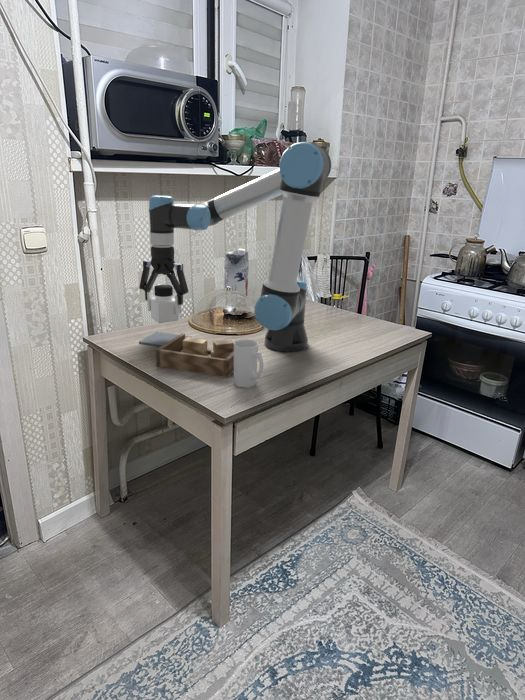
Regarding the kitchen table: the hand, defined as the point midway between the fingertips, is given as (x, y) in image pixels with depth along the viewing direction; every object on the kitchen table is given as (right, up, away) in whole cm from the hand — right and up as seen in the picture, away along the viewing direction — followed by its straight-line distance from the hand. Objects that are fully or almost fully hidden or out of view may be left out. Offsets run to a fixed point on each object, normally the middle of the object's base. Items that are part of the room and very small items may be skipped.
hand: (164, 311), depth 162 cm
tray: (+15, -17, -13) cm, 26 cm away
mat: (0, -10, +4) cm, 10 cm away
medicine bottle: (0, -3, +1) cm, 3 cm away
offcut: (+12, -15, -8) cm, 20 cm away
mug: (+30, -23, -28) cm, 47 cm away
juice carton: (+22, +2, +40) cm, 45 cm away
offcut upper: (+21, -13, -12) cm, 28 cm away
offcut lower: (+21, -16, -11) cm, 29 cm away
